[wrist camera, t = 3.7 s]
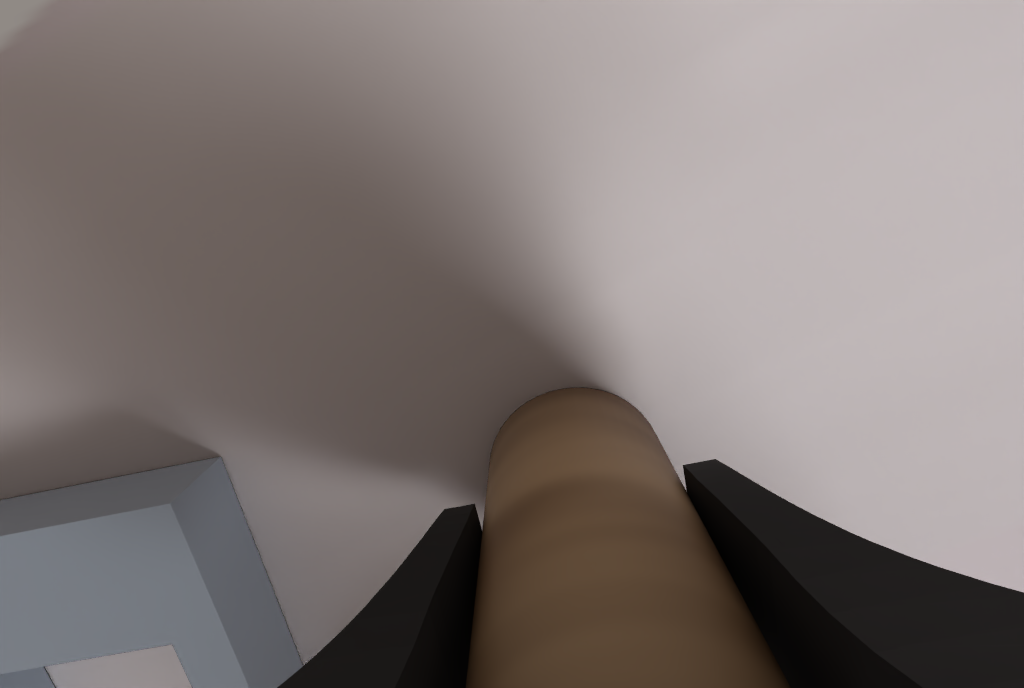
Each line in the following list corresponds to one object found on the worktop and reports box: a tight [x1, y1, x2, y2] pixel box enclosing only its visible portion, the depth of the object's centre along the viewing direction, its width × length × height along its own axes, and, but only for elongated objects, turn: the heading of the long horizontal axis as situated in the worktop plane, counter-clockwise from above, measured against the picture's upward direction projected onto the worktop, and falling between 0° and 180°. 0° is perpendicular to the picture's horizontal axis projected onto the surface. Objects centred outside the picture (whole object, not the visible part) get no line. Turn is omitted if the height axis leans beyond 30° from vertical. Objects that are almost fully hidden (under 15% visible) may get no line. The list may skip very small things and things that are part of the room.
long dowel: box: [466, 388, 791, 688], centre depth 9 cm, size 4×4×8 cm
